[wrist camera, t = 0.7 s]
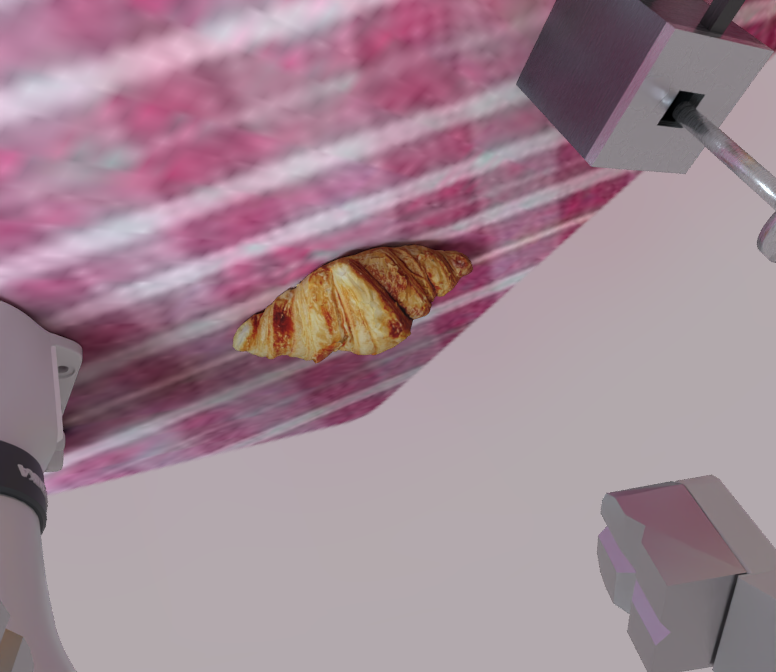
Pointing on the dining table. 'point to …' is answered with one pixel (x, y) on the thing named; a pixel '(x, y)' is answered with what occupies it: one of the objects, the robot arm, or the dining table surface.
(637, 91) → the matte gray cube
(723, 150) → the plunger
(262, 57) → the dining table surface
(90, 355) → the dining table surface
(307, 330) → the croissant
